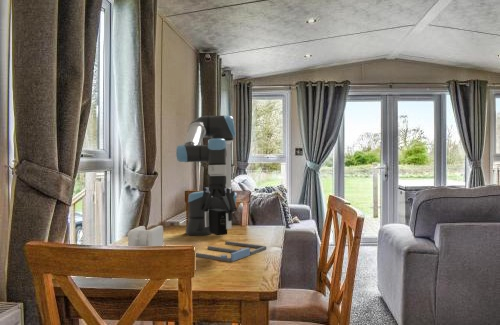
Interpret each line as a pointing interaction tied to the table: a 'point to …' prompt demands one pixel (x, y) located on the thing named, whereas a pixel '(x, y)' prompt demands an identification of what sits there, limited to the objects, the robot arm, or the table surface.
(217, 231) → the electronic device
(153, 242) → the cable organizer
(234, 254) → the grey flat frame
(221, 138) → the robot arm
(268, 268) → the table surface
